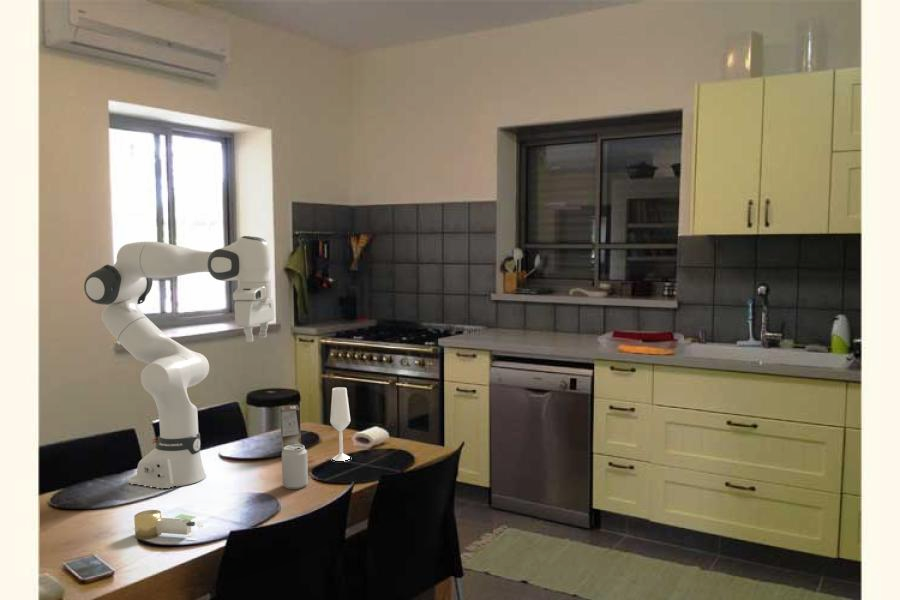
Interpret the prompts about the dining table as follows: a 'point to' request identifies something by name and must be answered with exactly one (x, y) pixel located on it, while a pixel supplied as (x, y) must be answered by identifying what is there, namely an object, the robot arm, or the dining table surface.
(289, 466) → the can
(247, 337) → the robot arm
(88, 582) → the dining table surface
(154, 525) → the yellow cylinder with handle
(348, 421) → the champagne flute
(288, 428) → the coffee box
